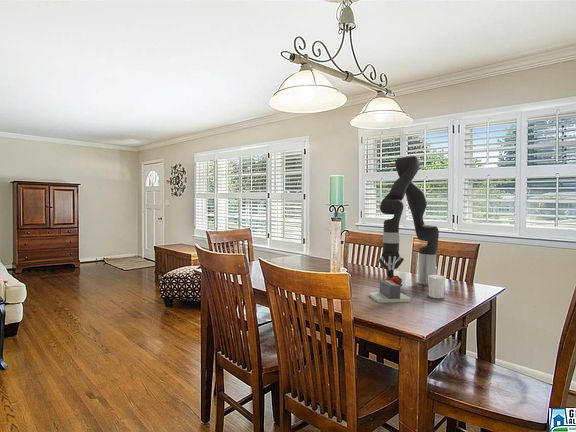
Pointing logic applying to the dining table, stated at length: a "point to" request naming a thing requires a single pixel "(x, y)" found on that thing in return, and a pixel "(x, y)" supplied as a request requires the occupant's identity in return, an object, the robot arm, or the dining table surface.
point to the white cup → (436, 286)
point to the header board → (382, 299)
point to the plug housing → (390, 289)
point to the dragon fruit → (395, 280)
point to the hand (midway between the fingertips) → (390, 277)
